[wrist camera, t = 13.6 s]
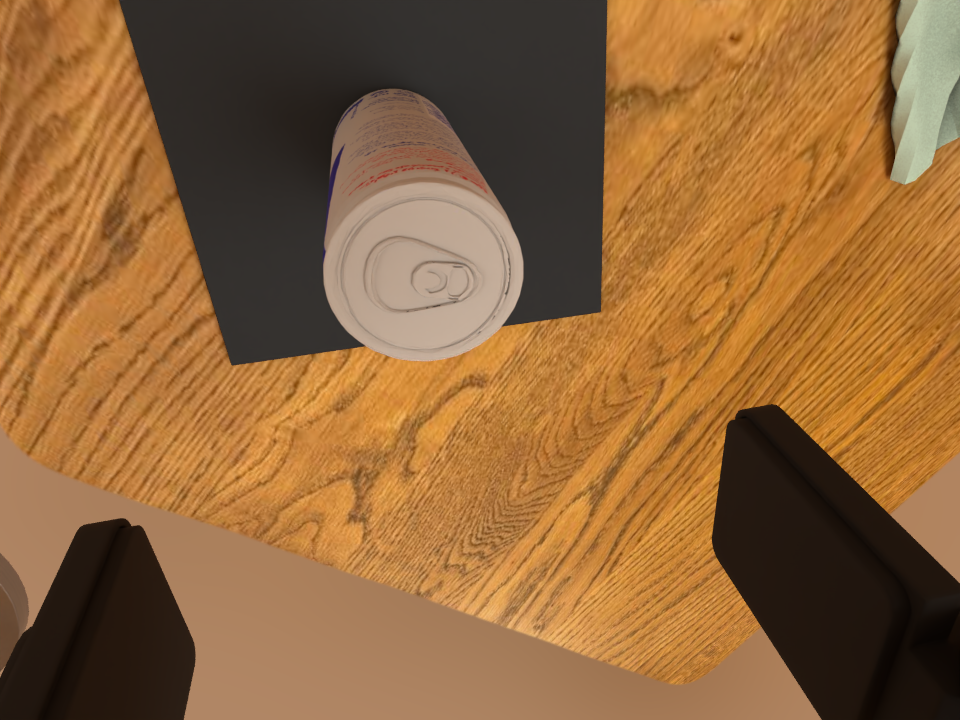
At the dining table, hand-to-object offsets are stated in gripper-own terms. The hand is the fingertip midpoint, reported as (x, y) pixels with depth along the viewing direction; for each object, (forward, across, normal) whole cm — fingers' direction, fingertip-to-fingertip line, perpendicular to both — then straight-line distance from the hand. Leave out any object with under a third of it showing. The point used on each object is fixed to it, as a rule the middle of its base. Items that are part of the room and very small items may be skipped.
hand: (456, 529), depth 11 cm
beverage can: (+24, -1, -1) cm, 24 cm away
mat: (+24, -1, -1) cm, 25 cm away
